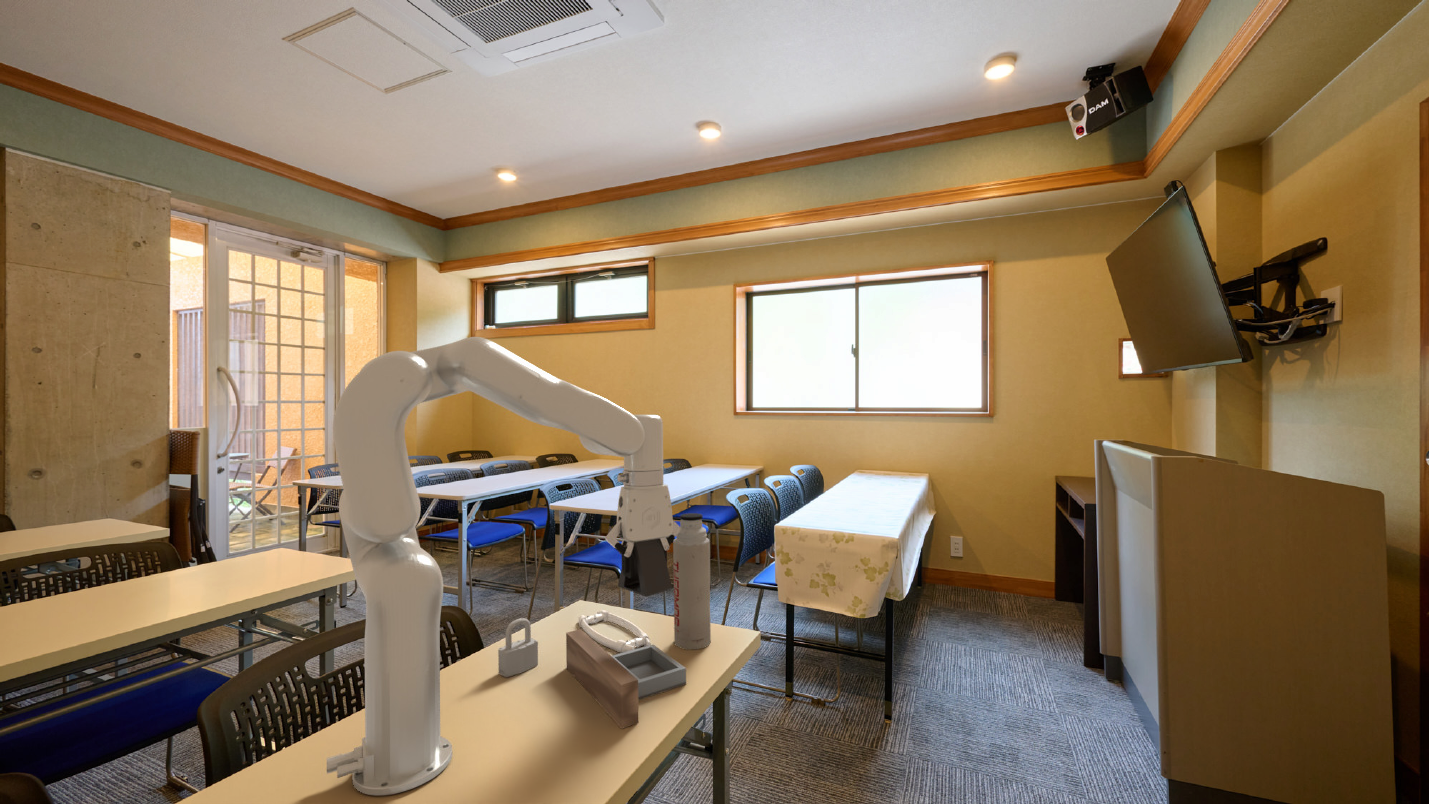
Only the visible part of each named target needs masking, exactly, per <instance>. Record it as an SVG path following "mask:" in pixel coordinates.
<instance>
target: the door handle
mask: <svg viewBox="0 0 1429 804" xmlns="http://www.w3.org/2000/svg"><path fill="white" fill-rule="evenodd" d="M601 621H603V622H610V623H612V622H613V624H614V625H615V624H616V625H617V624H618V626H620V627H622V626H623V627H622V628H624V627H625V628H624V629H625V630H628V629H629V630H630V632H631V631H632V632H633V633H632V632H631V633H632V634H634V636H636V637H635V638H632V639H630V640H628V639H627V640H626V641H625V640H624V639H619V640H615V639H611V638H610V637H607V636H605V635H604V634H601V633H599V632H598V631H596V630H595V629H594V628H592V627H591V626H590V625H594V624H595V623H596V624H597V623H600V622H601ZM578 625H579V627H580V628H579V629H582V631H583V632H584V633H586V634H587V635H588V636H589V637H590V638H591V639H592V640H594V641H595V642H596V643H597V644H599V645H602V646H603V647H607V648H608V649H611V650H613V651H615V652H616V651H617V652H616V653H619V652H620V653H624V652H627V651H631V650H634V649H638V648H641V646H643V645H644V646H643V647H645V646H649V645H652V643H651V641H650V640H651V639H650V638H649V636H648V634H647V633H646V632H644V631H643V630H642V629H641V628H640V627H639V626H637V625H636V624H634V623H633V622H631V621H630V620H628V619H626V618H623V617H622V616H619V615H617V614H614V613H611V612H610V611H608V610H604V609H601V610H599V611H598V612H597V613H595V614H591V615H587V616H586V615H584V614H581V615H580V616H579V617H578ZM629 630H628V631H629ZM637 636H638V637H639V638H638V637H637ZM635 646H636V647H637V648H636V647H635ZM620 653H619V654H620Z"/></svg>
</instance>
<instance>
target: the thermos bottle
mask: <svg viewBox="0 0 1429 804" xmlns="http://www.w3.org/2000/svg"><path fill="white" fill-rule="evenodd" d="M679 518H680V521H679V524H680V525H679V526H680V528H681V530H680V532H679V533H678V534H677V536H676V537H675V539H674V541H673V542H672V543H673V544H672V546H673V547H672V548H673V550H672V551H673V619H674V620H673V629H674V630H673V631H674V632H673V635H674V636H673V637H674V645H675V644H676V645H675V646H676V647H677V646H679V647H681V648H680V649H682V648H684V649H683V650H690V649H693V650H699V648H701V649H704V648H706V647H707V646H709V645H710V644H711V643H712V642H711V641H712V639H711V638H712V637H711V635H712V634H711V630H712V629H711V571H710V570H711V565H710V564H711V559H710V558H711V557H710V556H711V555H710V547H711V546H710V539H709V538H708V537H707V536H708V533H707V529H706V528H705V527H704V526H703V521H702V519H703V514H702V513H696V512H695V513H694V512H693V513H692V512H689V513H683V514H681V515H680V516H679ZM705 646H706V647H705ZM679 647H678V648H679ZM703 647H704V648H703Z"/></svg>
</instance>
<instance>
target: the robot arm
mask: <svg viewBox="0 0 1429 804" xmlns="http://www.w3.org/2000/svg"><path fill="white" fill-rule="evenodd" d="M466 392H472V393H474V394H475V395H478V396H480V397H481V398H484V399H486V400H488V401H489V402H493V403H494V404H496V405H498V406H500V407H502V408H504V409H506V410H507V411H510V412H512V413H514V414H515V415H517V416H519V417H521V418H523V419H526V420H527V421H529V422H532V423H536V424H537V425H541V426H545V427H550V428H554V429H559V430H562V431H567V432H570V433H572V434H575V435H578V439H579V441H580V443H581V445H582V447H583V448H584V449H586V450H587V451H589V452H590V453H592V454H594V455H595V454H596V455H601V456H612V457H613V456H614V457H620V458H623V470H622V473H621V474H618V475H617V482H618V483H622V485H623V486H621V487H620V491H619V494H618V495H619V497H618V503H617V511H616V513H617V514H616V524H615V525H614V526H613V527H612V528H611V530H610V531H609V532H608V534H607V535H606V536H605V538H604V539H605V541H606V542H607V543H608V544H610V546H612V547H613V548H614V550H616V551H617V552H618V553H619V554H620V555H621V569H622V572H623V574H624V575H625V576H627V577H628V578H633V577H634V558H633V557H632V556H631V552H632V549H633V547H634V542H641V541H648V540H654V539H659V540H660V542H661V544H662V546H663V550H664V551H663V552H664V554H665V559H666V563H667V564H668V554H667V553H668V552H667V551H669V550H670V546H671V544H672V543H673V541H674V540H675V539H676V536H677V534H678V533H679V532H680V530H681V528H680V525H679V524H678V523H677V522H676V521H675V520H674V519H673V508H672V501H671V495H670V490H669V486H668V485H667V484H665V483H664V424H663V422H664V421H663V418H662V417H661V416H660V415H658V414H633V413H631V412H629V411H627V410H626V409H624V408H622V407H620V406H619V405H617V404H616V403H614V402H612V401H611V400H608V399H607V398H604V397H603V396H600V395H598V394H596V393H594V392H591V391H589V390H587V389H584V388H581V387H579V386H577V385H575V384H572V383H571V382H568V381H566V380H563V379H561V378H559V377H557V376H555V375H552V374H551V373H548V372H547V371H545V370H543V369H541V368H540V367H538V366H536V365H535V364H533V363H531V362H529V361H527V360H525V359H524V358H522V357H520V356H519V355H517V354H516V353H514V352H512V351H510V350H508V349H507V348H505V347H503V346H501V345H500V344H498V343H496V342H495V341H493V340H490V339H488V338H485V337H480V336H471V337H470V336H469V337H466V338H463V339H459V340H456V341H454V342H450V343H447V344H443V345H438V346H433V347H430V348H425V349H419V350H414V351H405V350H394V351H388V352H386V353H383V354H381V355H379V356H376V357H375V358H373V359H371V360H369V361H368V362H367V363H366V364H364V365H363V367H362V368H361V369H360V372H358V373H357V374H356V375H355V376H354V377H353V378H352V379H351V380H350V381H349V383H348V384H347V386H346V388H345V389H344V391H343V392H342V394H341V396H340V397H339V401H338V402H337V404H336V407H335V410H334V411H335V412H334V415H333V416H334V417H333V424H332V434H333V435H332V436H333V443H334V450H335V454H336V457H337V459H336V460H337V464H338V471H339V475H340V480H341V484H342V487H343V490H342V492H341V494H340V495H339V500H338V501H339V502H338V512H339V519H340V523H341V527H342V532H343V535H344V540H345V543H346V547H347V551H348V554H349V559H350V563H351V566H352V570H353V574H354V577H355V581H356V584H357V585H358V587H359V589H360V590H361V592H362V594H363V597H364V598H365V608H366V609H365V611H366V612H365V629H364V714H365V715H364V722H365V723H364V724H365V725H364V726H365V728H364V729H365V730H364V731H365V733H364V736H365V737H362V738H361V745H359V746H356V747H354V748H353V750H352V751H348V752H345V753H340V754H336V755H333V756H330V757H327V758H326V774H330V773H334V772H336V779H340V778H342V777H346V776H349V775H351V774H352V779H351V780H353V781H352V786H353V785H354V786H353V788H354V789H355V788H356V789H357V791H358V792H359V791H360V793H361V792H362V794H364V795H368V796H388V795H395V794H400V793H403V792H407V791H409V790H412V789H416V788H417V787H419V786H422V785H424V784H426V783H428V782H429V781H431V780H432V779H434V778H435V777H437V776H438V775H439V774H440V773H442V772H443V771H444V770H445V769H446V768H447V767H448V765H449V763H450V762H451V760H452V757H453V745H452V743H451V741H449V740H448V739H447V738H446V737H443V736H441V668H440V667H441V664H440V663H441V661H440V660H441V659H440V658H441V654H440V653H441V652H440V646H441V645H440V644H441V643H440V640H441V639H440V629H441V626H440V625H441V611H442V606H443V605H442V604H443V597H444V596H443V595H444V579H443V575H442V574H443V573H442V571H441V568H440V566H439V564H438V563H437V561H436V559H435V558H434V557H433V556H432V555H431V554H430V553H429V552H427V551H426V550H424V549H423V548H422V547H421V544H420V540H419V536H418V533H417V530H416V529H417V528H416V527H417V524H418V522H419V520H420V517H421V508H422V507H421V500H420V497H419V494H418V490H417V487H416V483H415V480H414V475H413V471H412V467H411V464H410V460H409V454H408V448H407V443H406V436H405V435H406V433H405V430H406V429H405V428H406V424H407V420H408V417H409V415H410V414H411V412H412V411H413V409H414V408H416V407H417V406H419V405H420V404H424V403H427V402H432V401H435V400H439V399H443V398H447V397H451V396H454V395H458V394H461V393H466ZM618 537H619V538H620V539H622V540H621V542H619V540H617V538H618ZM627 542H628V543H627ZM356 789H355V790H356Z"/></svg>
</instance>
